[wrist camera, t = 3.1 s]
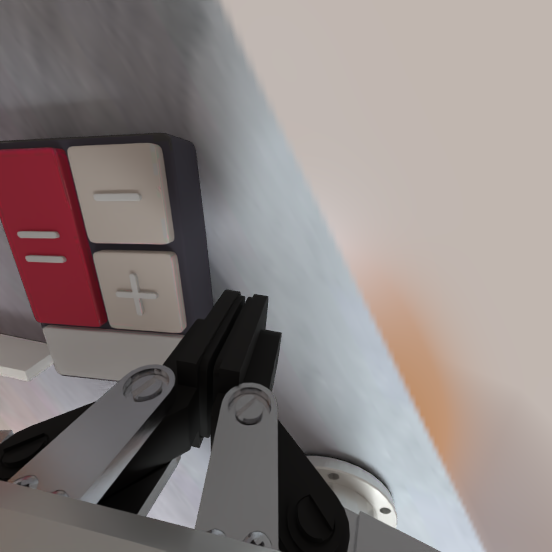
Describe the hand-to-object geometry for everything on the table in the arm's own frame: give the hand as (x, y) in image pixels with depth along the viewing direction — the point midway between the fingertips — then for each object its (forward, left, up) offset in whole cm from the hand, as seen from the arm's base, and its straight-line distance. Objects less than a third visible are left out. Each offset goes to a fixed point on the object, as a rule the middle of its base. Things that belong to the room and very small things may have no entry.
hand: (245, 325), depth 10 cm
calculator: (-1, +10, -7) cm, 12 cm away
